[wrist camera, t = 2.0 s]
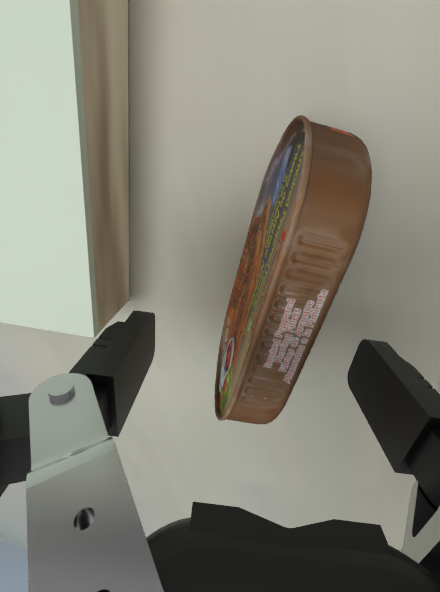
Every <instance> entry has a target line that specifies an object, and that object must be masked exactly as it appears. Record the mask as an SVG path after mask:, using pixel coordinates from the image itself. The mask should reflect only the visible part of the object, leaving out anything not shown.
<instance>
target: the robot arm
mask: <svg viewBox="0 0 440 592" xmlns="http://www.w3.org/2000/svg"><path fill="white" fill-rule="evenodd" d="M154 351H155V315H154V313H151V312H142V311H133V312H132V313H131V315H130V316H129V317H128V319H127V320H126V321H125V322H116V323H115V324H113V325H111V326H109V327H107V328H106V329H105V330H104V332H103V333H102V334H101V335H100V336H99V339H97V340H96V341H95V342H94V343H93V346H91V347H90V348H89V349H88V350H87V352H86V353H85V354H84V355H83V356H82V358H81V359H80V360H79V361H78V362H77V363H76V365H75V366H74V367H73V368H72V369H71V371H70V372H69V373H67V374H61V375H57V376H54V377H52V378H49V379H47V380H46V381H44V382H42V383H41V384H40V385H38V386H37V387H36V388H35V389H34V390H33V392H32V393H28V394H21V395H12V396H4V397H0V497H1V495H2V494H3V492H4V491H5V489H6V488H7V486H8V485H9V484H12V483H17V482H22V481H26V501H27V542H28V579H29V580H28V582H29V592H440V394H439V393H438V392H437V391H436V390H435V389H433V388H432V386H431V385H430V383H429V382H428V381H427V380H424V377H423V376H422V375H421V374H420V373H419V372H418V371H417V370H416V368H415V367H414V366H412V365H411V364H409V363H408V362H406V361H405V360H404V359H402V358H401V357H400V356H399V355H398V354H397V353H396V352H395V351H394V350H393V349H392V347H391V346H390V345H389V344H388V343H386V342H382V341H374V340H366V339H364V340H362V341H361V342H360V344H359V346H358V349H357V351H356V354H355V356H354V359H353V361H352V364H351V366H350V368H349V371H348V385H349V387H350V389H351V391H352V393H353V395H354V397H355V399H356V401H357V402H358V404H359V406H360V408H361V410H362V412H363V414H364V415H365V417H366V419H367V421H368V423H369V425H370V427H371V429H372V430H373V432H374V434H375V436H376V438H377V440H378V442H379V443H380V445H381V447H382V449H383V451H384V453H385V455H386V456H387V458H388V460H389V462H390V464H391V466H392V468H393V470H394V471H395V472H396V473H404V474H412V475H414V476H415V478H416V482H415V483H414V485H413V486H412V490H411V496H410V503H409V510H408V516H407V523H406V530H405V537H404V543H403V547H402V550H401V552H400V551H399V550H397V549H395V548H393V547H391V546H389V545H388V543H387V541H386V538H385V536H384V533H383V531H382V528H381V526H380V525H375V524H367V523H359V522H351V521H343V520H335V519H333V520H329V521H324V522H319V523H315V524H310V525H306V526H301V527H296V528H286V527H283V526H281V525H278V524H276V523H274V522H271V521H269V520H267V519H264V518H262V517H260V516H258V515H255V514H253V513H251V512H248V511H246V510H244V509H241V508H239V507H231V506H223V505H215V504H207V503H199V502H193V506H192V514H191V517H190V518H186V519H181V520H178V521H175V522H172V523H170V524H168V525H166V526H164V527H162V528H160V529H158V530H157V531H155V532H154V533H152V534H151V535H149V536H148V537H147V538H146V536H145V533H144V530H143V527H142V524H141V521H140V518H139V515H138V512H137V509H136V506H135V503H134V500H133V497H132V494H131V491H130V488H129V485H128V482H127V479H126V476H125V473H124V470H123V466H122V463H121V460H120V457H119V454H118V451H117V448H116V445H115V443H114V440H113V438H112V437H109V436H116V437H118V436H119V434H120V432H121V430H122V427H123V425H124V423H125V421H126V418H127V416H128V414H129V412H130V410H131V407H132V405H133V403H134V401H135V398H136V396H137V394H138V392H139V389H140V387H141V385H142V383H143V381H144V378H145V376H146V374H147V372H148V369H149V367H150V365H151V363H152V360H153V356H154Z"/></svg>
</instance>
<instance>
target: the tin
mask: <svg viewBox="0 0 440 592" xmlns="http://www.w3.org/2000/svg"><path fill="white" fill-rule="evenodd" d="M371 180H372V170H371V163H370V158H369V153H368V150H367V147H366V146H365V144H364V143H363V142H362V140H361V139H359V138H358V137H357V136H355V135H353V134H351V133H348V132H345V131H342V130H339V129H336V128H332V127H328V126H325V125H321V124H317V123H314V122H311V121H309V120H308V119H307V118H306V117H304V116H301V115H300V116H297V117H296V118H294V119H293V121H292V122H291V123H290V124H289V126H288V127H287V129H286V131H285V132H284V134H283V136H282V138H281V140H280V142H279V144H278V146H277V148H276V150H275V152H274V154H273V157H272V159H271V161H270V164H269V166H268V169H267V171H266V174H265V177H264V180H263V183H262V186H261V189H260V193H259V197H258V199H257V203H256V206H255V210H254V213H253V217H252V221H251V225H250V228H249V232H248V236H247V239H246V243H245V246H244V250H243V254H242V258H241V261H240V265H239V269H238V272H237V276H236V280H235V283H234V287H233V290H232V294H231V298H230V302H229V305H228V309H227V313H226V317H225V322H224V327H223V331H222V336H221V342H220V348H219V354H218V362H217V372H216V383H215V413H216V416H217V418H218V420H221V421H222V420H225V419H228V420H234V421H240V422H246V423H253V424H267V423H270V422H272V421H273V420H274V419H275V418H276V417H277V416H278V415H279V414H280V412H281V411H282V410H283V408H284V406H285V405H286V402H287V400H288V398H289V396H290V394H291V392H292V390H293V387H294V385H295V383H296V381H297V379H298V377H299V374H300V372H301V370H302V368H303V366H304V363H305V361H306V359H307V357H308V355H309V353H310V350H311V348H312V346H313V344H314V342H315V339H316V337H317V335H318V333H319V331H320V329H321V326H322V324H323V322H324V319H325V317H326V315H327V313H328V311H329V308H330V306H331V304H332V302H333V299H334V297H335V295H336V293H337V291H338V288H339V285H340V284H341V282H342V279H343V277H344V275H345V272H346V270H347V268H348V266H349V264H350V262H351V259H352V257H353V255H354V252H355V250H356V247H357V245H358V242H359V239H360V236H361V233H362V230H363V226H364V223H365V219H366V215H367V211H368V206H369V200H370V194H371Z"/></svg>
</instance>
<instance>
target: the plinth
mask: <svg viewBox="0 0 440 592" xmlns="http://www.w3.org/2000/svg"><path fill="white" fill-rule="evenodd" d="M128 300H129V94H128V0H0V322H2V323H8V324H14V325H20V326H26V327H32V328H38V329H44V330H50V331H56V332H62V333H68V334H74V335H80V336H86V337H92V338H94V337H95V336H96V335H97V334H98V333H99V332H100V331H101V330H102V329H103V328H104V326H105V325H106V324H107V323H108V322H109V321H110V320H111V319H112V318H113V317H114V316H115V314H116V313H117V312H118V311H119V310H120V309H121V308H122V307H123V306H124V305H125V304H126V302H127V301H128Z"/></svg>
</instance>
